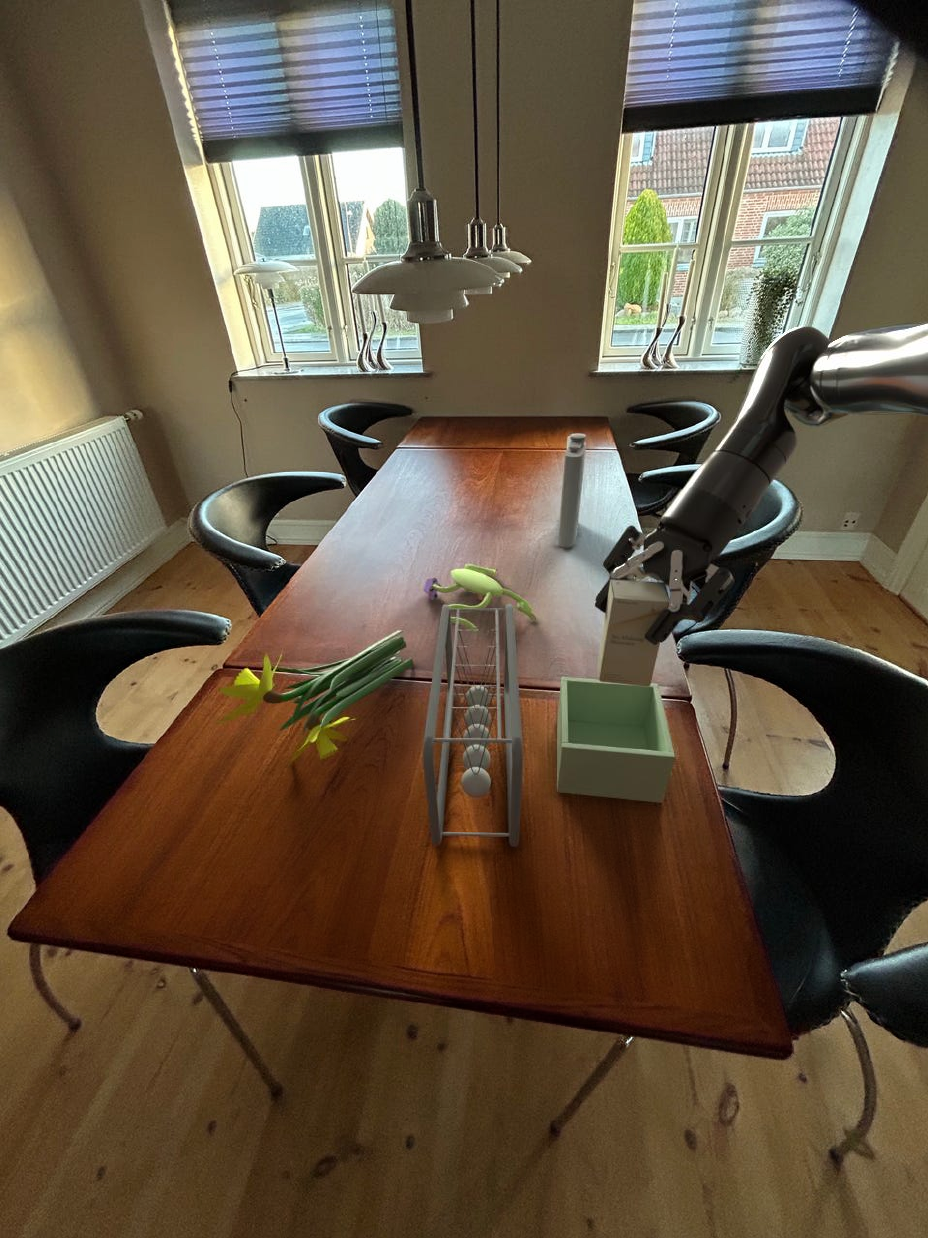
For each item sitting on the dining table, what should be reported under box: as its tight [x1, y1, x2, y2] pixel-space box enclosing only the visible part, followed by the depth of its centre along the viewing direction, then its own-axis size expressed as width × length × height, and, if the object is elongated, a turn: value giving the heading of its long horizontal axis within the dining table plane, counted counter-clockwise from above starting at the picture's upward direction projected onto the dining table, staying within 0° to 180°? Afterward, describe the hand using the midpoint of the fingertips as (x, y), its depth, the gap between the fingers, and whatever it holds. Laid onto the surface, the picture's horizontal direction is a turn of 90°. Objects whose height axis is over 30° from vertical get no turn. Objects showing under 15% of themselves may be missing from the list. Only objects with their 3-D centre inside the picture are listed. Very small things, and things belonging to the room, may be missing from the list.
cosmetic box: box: [597, 579, 670, 686], centre depth 62 cm, size 6×4×12 cm
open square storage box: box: [556, 676, 676, 804], centre depth 73 cm, size 14×14×9 cm
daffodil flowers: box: [215, 629, 415, 771], centre depth 80 cm, size 17×15×35 cm
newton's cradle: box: [422, 603, 524, 848], centre depth 71 cm, size 30×10×18 cm, turn 178°
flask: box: [556, 433, 587, 548], centre depth 131 cm, size 17×5×25 cm, turn 168°
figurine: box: [423, 563, 537, 633], centre depth 109 cm, size 18×27×6 cm
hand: (623, 624), depth 60 cm, fingers closed on cosmetic box, 7 cm apart
